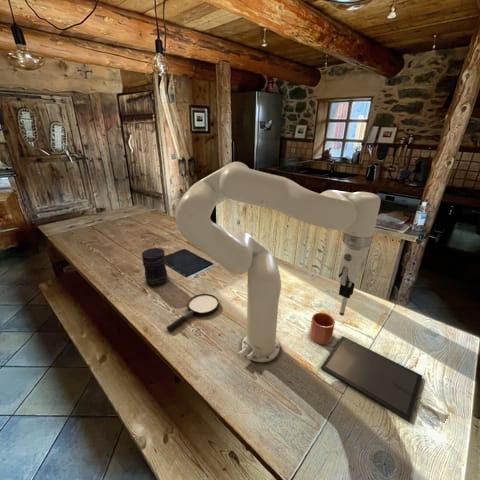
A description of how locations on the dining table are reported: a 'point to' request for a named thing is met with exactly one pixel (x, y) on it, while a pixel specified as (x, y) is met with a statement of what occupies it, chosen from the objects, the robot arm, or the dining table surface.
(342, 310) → the stylus
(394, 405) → the tablet
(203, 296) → the magnifying glass
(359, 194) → the robot arm
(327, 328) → the pen pot
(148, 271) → the storage jar
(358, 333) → the dining table surface
